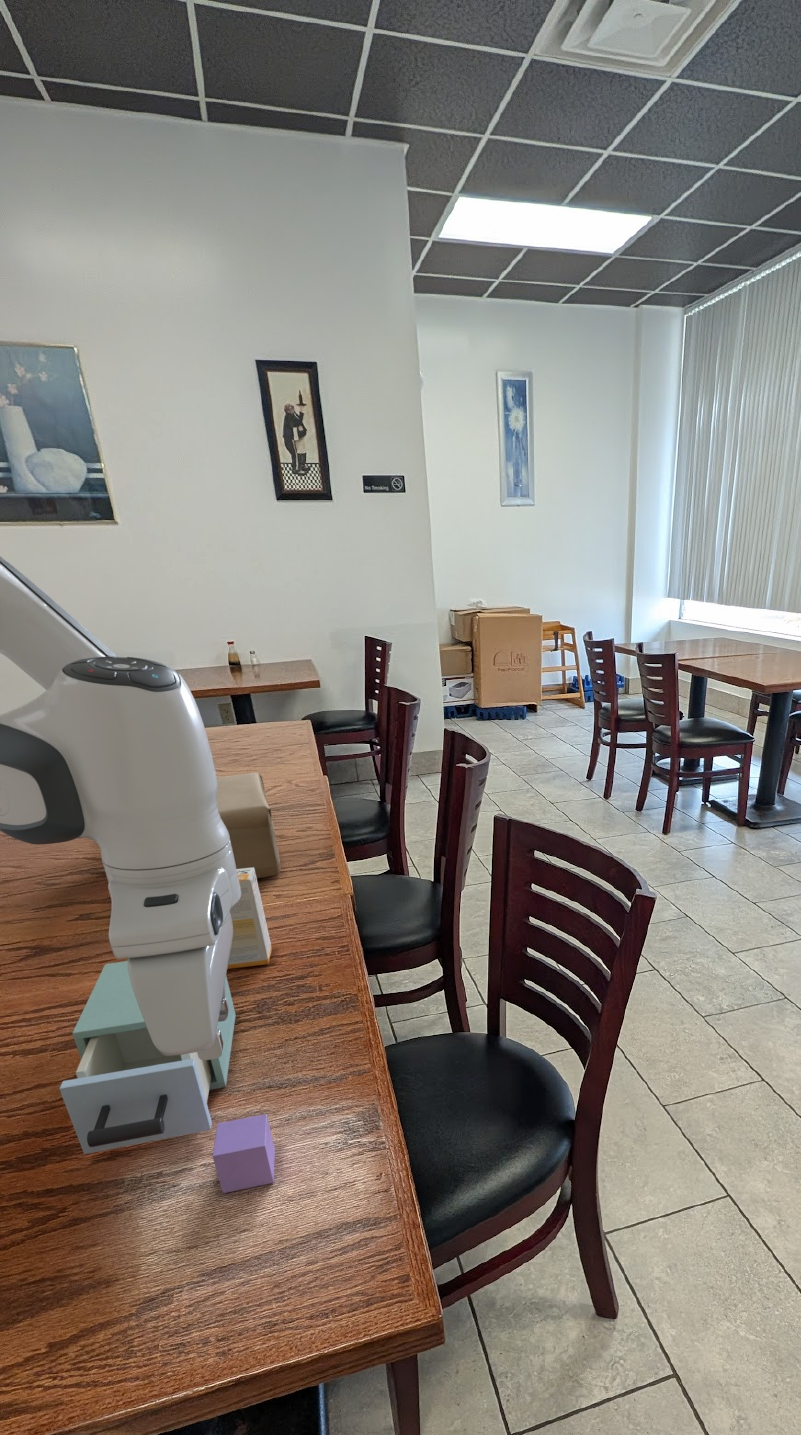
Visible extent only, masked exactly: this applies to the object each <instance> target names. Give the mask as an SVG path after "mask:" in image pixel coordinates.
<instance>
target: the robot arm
mask: <svg viewBox="0 0 801 1435" xmlns="http://www.w3.org/2000/svg"><path fill="white" fill-rule="evenodd" d="M0 654H2V655H3V656H5V658H7V659H8V660H10V661H11V662H12V663H14V664H15V665H16V666H17V667H18V668H19V669H20V670H22V671H23V672H24V673H25V674H27V675H28V676H29V677H30V678H31V679H32V680H34V681H35V682H36V683H37V684H39V686H41V687H42V688H43V689H44V690H45V691H44V692H43V693H42V694H40V695H39V696H37V697H36V698H34V699H32V700H30V701H28V702H27V703H24V704H23V705H20V706H18V707H16V708H13V709H10V710H9V711H6V712H4V713H0V832H1V833H3V834H5V835H7V836H9V837H10V838H12V839H15V840H18V841H21V842H24V843H26V844H31V845H52V844H60V843H61V844H62V843H65V842H71V841H75V840H76V839H90V840H92V841H94V842H95V843H96V844H97V845H98V848H99V850H100V855H101V862H102V866H103V869H104V872H105V876H106V879H107V882H108V884H107V888H108V893H109V896H110V900H111V901H110V902H111V907H110V915H109V916H110V917H109V926H108V941H109V945H110V947H111V951H112V954H113V956H114V957H115V959H118V960H122V959H124V960H125V959H127V961H128V972H129V977H130V981H131V985H132V988H133V991H134V994H135V997H136V1000H137V1003H138V1006H139V1008H140V1011H141V1014H142V1016H143V1019H144V1022H145V1024H146V1027H147V1029H148V1032H149V1034H150V1037H151V1039H152V1041H153V1043H154V1045H155V1047H156V1048H157V1049H158V1050H159V1051H160V1052H161V1053H162V1054H164V1055H165V1056H176V1055H182V1054H189V1053H194V1052H197V1054H198V1057H199V1058H200V1059H201V1060H204V1061H205V1060H211V1059H216V1058H219V1057H221V1056H222V1051H223V1040H222V1036H221V1032H220V1029H219V1030H218V1029H217V1026H218V1021H219V1022H222V1021H225V1020H226V1019H227V1016H228V1011H229V1006H228V1002H227V998H226V988H225V978H226V976H227V971H228V969H227V967H228V961H229V955H230V949H231V943H232V937H233V924H232V918H231V915H230V909H231V907H233V906H234V905H235V904H236V903H237V902H238V901H239V899H240V897H241V887H240V883H239V878H238V874H237V869H236V864H235V859H234V855H233V850H232V846H231V841H230V836H229V833H228V830H227V828H226V826H225V825H224V823H223V821H222V819H221V817H220V814H219V811H218V807H217V789H218V781H217V777H218V776H217V771H216V766H215V763H214V759H213V758H214V757H213V753H212V750H211V746H210V741H209V738H208V734H207V731H206V728H205V724H204V721H203V718H202V716H201V712H200V709H199V707H198V704H197V701H196V699H195V697H194V696H193V693H192V691H191V689H190V687H189V686H188V684H187V682H186V681H185V679H184V678H183V676H182V675H181V673H179V672H178V671H177V670H176V669H174V668H171V667H169V666H168V665H166V664H164V663H161V662H158V661H155V660H152V659H147V658H143V657H142V658H141V657H134V656H126V657H124V656H118V655H116V653H114V651H112V649H110V648H109V647H108V646H106V645H105V644H104V643H103V642H102V641H101V640H99V639H98V638H97V637H96V636H95V635H94V634H92V633H91V632H90V631H89V630H88V629H87V628H86V627H84V625H83V624H82V623H80V622H79V621H77V619H75V618H74V616H72V615H71V614H70V613H69V612H67V610H65V609H64V608H63V607H62V606H60V604H58V603H57V602H56V601H54V599H53V598H51V597H50V596H49V595H48V594H46V593H45V591H43V590H42V589H41V588H40V587H39V586H37V585H36V584H35V583H34V582H33V581H31V580H30V579H29V578H28V577H27V576H26V575H24V574H23V573H22V572H21V571H20V570H19V569H18V568H16V567H14V566H13V565H12V564H11V563H10V562H8V561H7V560H6V559H4V558H3V557H1V556H0Z"/></svg>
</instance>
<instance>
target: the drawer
mask: <svg viewBox="0 0 801 1435" xmlns="http://www.w3.org/2000/svg"><path fill="white" fill-rule="evenodd" d="M212 1070H213V1066H212V1062H211V1060H205V1061H204V1060H201V1059H200V1058H199V1057H198V1054H197V1052H194V1053H189V1054H182V1055H176V1056H165V1055H164V1054H162V1053H161V1052H160V1051H159V1050H158V1049H157V1048H156V1047H155V1045H154V1043H153V1041H152V1039H151V1037H150V1034H149V1032H148V1029H147V1028H144V1029H138V1030H131V1031H125V1032H119V1033H113V1034H107V1035H101V1036H94V1037H91V1038H90V1041H89V1043H88V1045H87V1048H86V1050H85V1052H84V1055H83V1057H82V1059H81V1058H80V1061H79V1064H78V1066H77V1069H76V1071H75V1075H76V1077H77V1078H73V1079H67V1080H63V1081H62V1082H61V1084H60V1085H59V1086H60V1087H59V1091H60V1095H61V1097H62V1100H63V1102H64V1105H65V1108H66V1110H67V1113H68V1115H69V1118H70V1121H71V1124H72V1126H73V1129H74V1130H75V1134H76V1137H77V1139H78V1142H79V1145H80V1147H81V1149H82V1153H83V1155H88V1154H94V1153H98V1152H104V1151H108V1150H115V1149H120V1148H125V1147H129V1146H135V1145H140V1144H147V1143H151V1142H156V1141H161V1140H166V1139H171V1138H177V1137H181V1136H188V1135H192V1134H197V1133H203V1132H208V1131H212V1124H213V1120H212V1117H211V1114H210V1110H209V1105H208V1100H209V1093H210V1090H209V1088H210V1082H211V1076H212Z"/></svg>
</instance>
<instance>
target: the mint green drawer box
mask: <svg viewBox="0 0 801 1435" xmlns="http://www.w3.org/2000/svg"><path fill="white" fill-rule="evenodd" d="M225 988H226V998H227V1002H228V1006H229V1011H228V1016H227V1019H226V1020H225V1021H222V1022H219V1021H218V1026H217V1029H218V1030H219V1029H220V1032H221V1036H222V1040H223V1051H222V1056H221V1057H219V1058H216V1059H211V1062H212V1066H213V1070H212V1076H211V1082H210V1088H209V1091H211V1090H216V1089H222V1088H226V1087H227V1082H228V1074H229V1069H230V1068H229V1066H230V1059H231V1053H232V1044H233V1038H234V1030H235V1022H236V1016H237V1015H236V1011H235V1006H234V1002H233V998H232V994H231V989H230V986H229V981H228V976H227V975H226V978H225ZM77 1020H78V1021H77V1023H76V1025H75V1027H74V1029H73V1031H72V1033H71V1035H72V1037H73V1040H74V1043H75V1046H76V1048H77V1051H78V1054H79V1057H80V1060H81V1059H82V1057H83V1055H84V1052H85V1050H86V1048H87V1045H88V1043H89V1041H90V1038H91V1037H94V1036H101V1035H107V1034H113V1033H119V1032H125V1031H131V1030H138V1029H144V1028H147V1027H146V1024H145V1022H144V1019H143V1016H142V1014H141V1011H140V1008H139V1006H138V1003H137V1000H136V997H135V994H134V991H133V988H132V985H131V981H130V977H129V972H128V960H124V961H117V962H110V963H105V964H104V965H103V968H102V970H101V972H100V974H99V977H98V978H97V981H96V983H95V985H94V986H93V989H92V991H91V993H90V996H89V998H88V999H87V1001H86V1004H85V1005H84V1008H83V1010H82V1012H81V1014H80V1016H79V1018H78V1019H77Z"/></svg>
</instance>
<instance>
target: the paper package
mask: <svg viewBox="0 0 801 1435" xmlns="http://www.w3.org/2000/svg"><path fill="white" fill-rule="evenodd" d="M217 781H218V789H217V807H218V811H219V814H220V817H221V819H222V821H223V823H224V825H225V826H226V828H227V830H228V833H229V836H230V841H231V846H232V850H233V855H234V859H235V864H236V869H243V868H254V869H255V874H256V878H257V880H258V879H263V878H268V877H273V876H276V875H279V874H280V873H281V870H282V869H281V858H280V853H279V847H278V842H277V838H276V830H275V826H274V821H273V819H272V809H271V808H270V806H269V804H268V800H267V794H266V791H265V785H264V780H263V775H262V774H260V773H259V772H256V771H255V772H249V773H240V774H232V775H225V776H217Z"/></svg>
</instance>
